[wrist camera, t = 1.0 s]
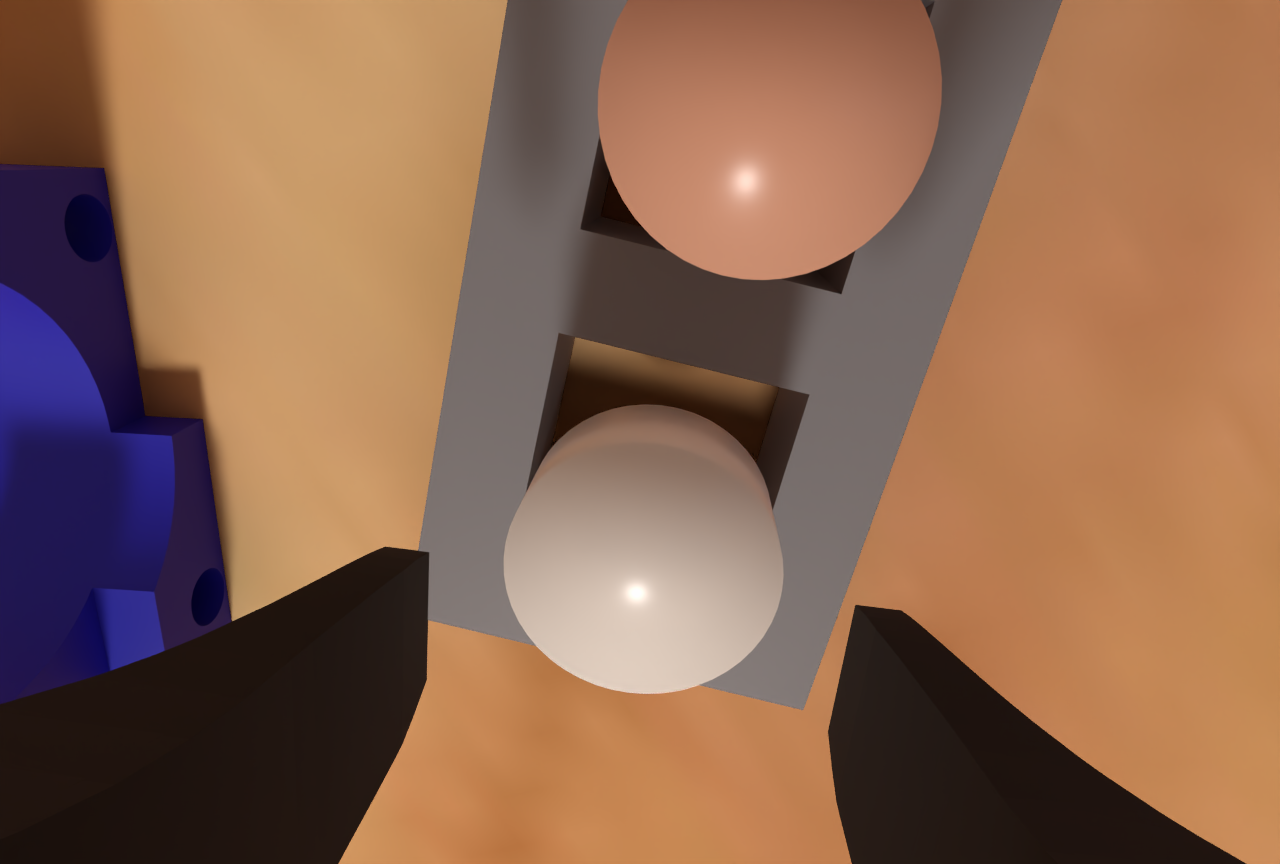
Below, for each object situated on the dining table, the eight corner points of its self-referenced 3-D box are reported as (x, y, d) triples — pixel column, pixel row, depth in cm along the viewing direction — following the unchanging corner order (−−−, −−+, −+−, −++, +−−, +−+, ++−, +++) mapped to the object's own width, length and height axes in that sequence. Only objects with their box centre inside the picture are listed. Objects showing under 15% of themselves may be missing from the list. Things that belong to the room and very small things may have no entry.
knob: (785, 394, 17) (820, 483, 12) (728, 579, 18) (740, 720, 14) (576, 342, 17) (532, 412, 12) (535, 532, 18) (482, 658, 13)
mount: (1173, -506, 14) (1321, -710, 11) (786, 624, 21) (802, 710, 18) (662, -641, 14) (653, -892, 11) (452, 543, 21) (407, 614, 18)
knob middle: (900, 23, 14) (994, -39, 10) (824, 268, 16) (876, 313, 11) (658, -38, 14) (640, -129, 10) (603, 213, 16) (567, 236, 11)
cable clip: (236, 621, 23) (84, 775, 17) (80, 610, 23) (-121, 760, 17) (172, 170, 19) (-53, 176, 13) (-15, 163, 19) (-313, 166, 13)
